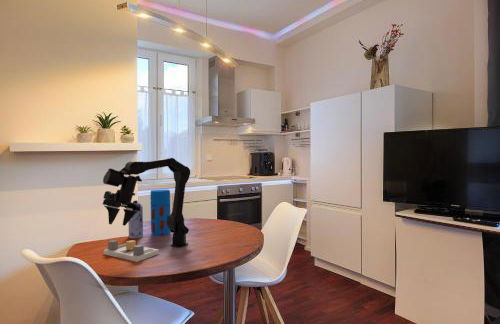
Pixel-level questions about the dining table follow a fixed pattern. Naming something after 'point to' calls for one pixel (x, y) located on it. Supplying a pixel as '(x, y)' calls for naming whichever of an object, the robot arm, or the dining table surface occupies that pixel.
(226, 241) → the dining table surface
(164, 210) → the tall blue box
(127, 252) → the breaker panel
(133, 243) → the handle
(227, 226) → the dining table surface
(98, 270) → the dining table surface
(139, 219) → the aerosol can
